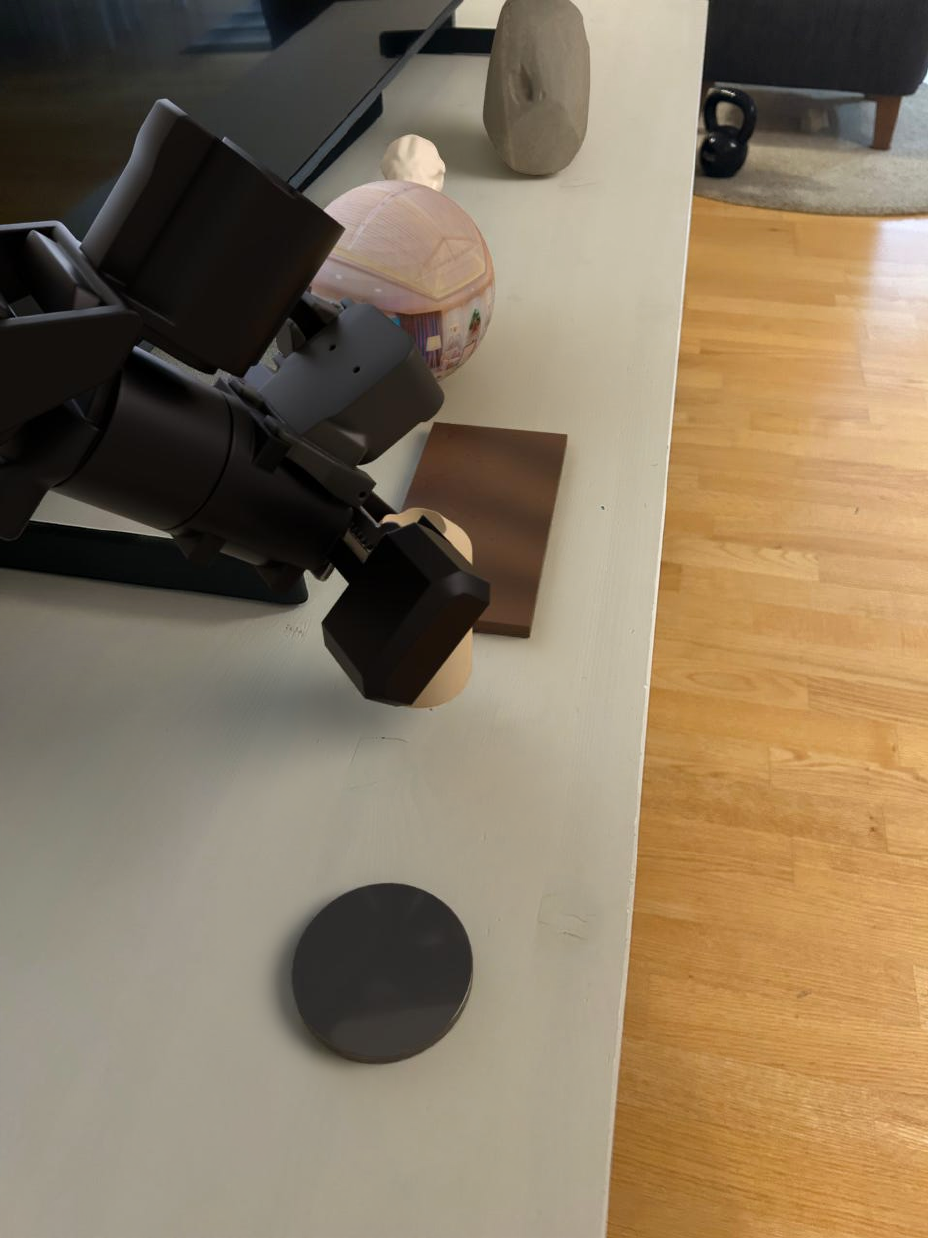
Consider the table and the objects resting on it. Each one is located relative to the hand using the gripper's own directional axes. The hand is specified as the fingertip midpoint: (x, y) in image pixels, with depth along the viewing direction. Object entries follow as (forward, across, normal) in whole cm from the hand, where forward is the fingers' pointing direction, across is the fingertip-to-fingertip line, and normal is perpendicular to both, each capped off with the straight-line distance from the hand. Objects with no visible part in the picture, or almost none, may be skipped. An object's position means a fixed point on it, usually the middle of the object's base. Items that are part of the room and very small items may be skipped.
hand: (440, 570), depth 48 cm
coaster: (-1, -12, +14) cm, 19 cm away
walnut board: (+14, +12, 0) cm, 18 cm away
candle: (+4, 0, +6) cm, 7 cm away
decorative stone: (+43, +64, -30) cm, 83 cm away
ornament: (+17, +30, -4) cm, 35 cm away
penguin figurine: (+27, +52, -14) cm, 60 cm away
